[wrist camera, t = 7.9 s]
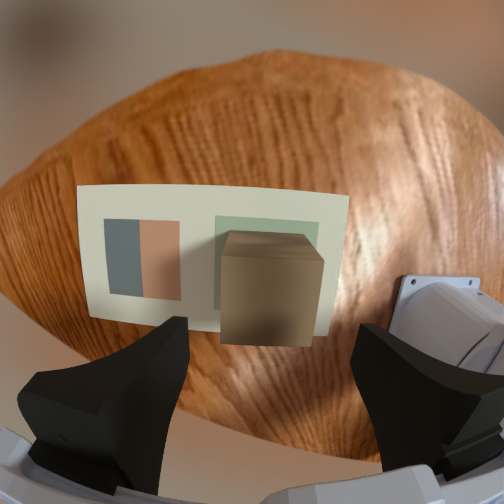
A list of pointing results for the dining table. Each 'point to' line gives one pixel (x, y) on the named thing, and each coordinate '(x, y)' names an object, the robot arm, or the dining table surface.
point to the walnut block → (269, 289)
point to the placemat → (191, 246)
